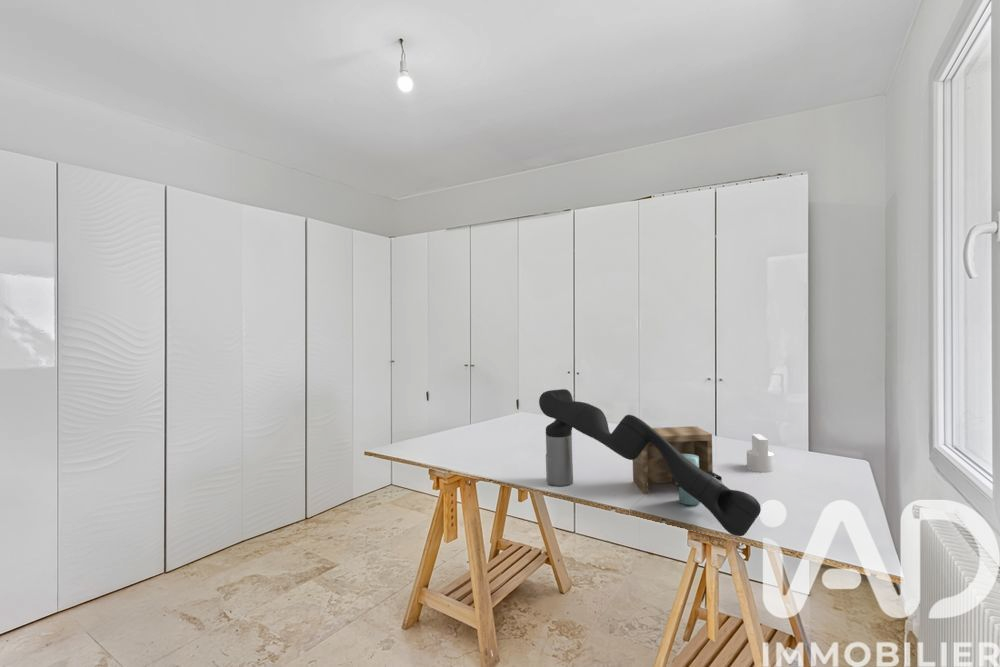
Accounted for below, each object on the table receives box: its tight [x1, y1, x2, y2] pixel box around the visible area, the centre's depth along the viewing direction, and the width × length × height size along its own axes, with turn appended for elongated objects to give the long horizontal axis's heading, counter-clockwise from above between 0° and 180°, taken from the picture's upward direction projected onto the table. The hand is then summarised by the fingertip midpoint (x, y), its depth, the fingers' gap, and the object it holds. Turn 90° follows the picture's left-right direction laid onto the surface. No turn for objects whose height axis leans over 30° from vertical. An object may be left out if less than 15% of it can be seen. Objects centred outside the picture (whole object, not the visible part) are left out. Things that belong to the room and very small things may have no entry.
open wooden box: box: [632, 425, 714, 495], centre depth 165 cm, size 23×12×19 cm, turn 91°
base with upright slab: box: [746, 433, 775, 474], centre depth 181 cm, size 9×9×12 cm
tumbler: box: [678, 454, 700, 506], centre depth 151 cm, size 6×6×14 cm
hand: (685, 471), depth 153 cm, fingers closed on tumbler, 6 cm apart
